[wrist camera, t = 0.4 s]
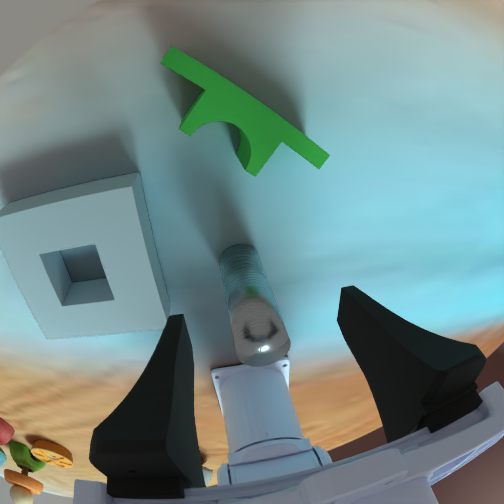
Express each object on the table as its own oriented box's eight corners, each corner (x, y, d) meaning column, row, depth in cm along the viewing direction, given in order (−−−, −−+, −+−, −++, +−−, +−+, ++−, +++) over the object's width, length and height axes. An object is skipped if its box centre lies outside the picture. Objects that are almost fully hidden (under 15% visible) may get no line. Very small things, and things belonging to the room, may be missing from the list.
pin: (259, 274, 25) (289, 361, 18) (222, 280, 25) (238, 370, 17) (257, 241, 24) (291, 325, 16) (217, 247, 23) (233, 335, 16)
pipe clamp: (145, 99, 17) (132, 103, 14) (176, 53, 16) (171, 45, 12) (276, 180, 22) (293, 203, 18) (306, 141, 20) (331, 155, 17)
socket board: (170, 302, 25) (169, 328, 22) (55, 316, 24) (46, 339, 21) (139, 171, 19) (131, 186, 17) (9, 202, 18) (-10, 220, 15)
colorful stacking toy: (88, 460, 40) (85, 521, 29) (30, 460, 40) (24, 510, 29) (13, 407, 30) (-4, 480, 20) (-35, 411, 30) (-51, 467, 20)
